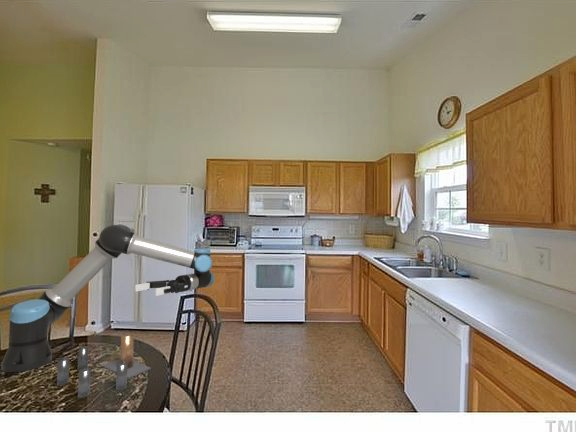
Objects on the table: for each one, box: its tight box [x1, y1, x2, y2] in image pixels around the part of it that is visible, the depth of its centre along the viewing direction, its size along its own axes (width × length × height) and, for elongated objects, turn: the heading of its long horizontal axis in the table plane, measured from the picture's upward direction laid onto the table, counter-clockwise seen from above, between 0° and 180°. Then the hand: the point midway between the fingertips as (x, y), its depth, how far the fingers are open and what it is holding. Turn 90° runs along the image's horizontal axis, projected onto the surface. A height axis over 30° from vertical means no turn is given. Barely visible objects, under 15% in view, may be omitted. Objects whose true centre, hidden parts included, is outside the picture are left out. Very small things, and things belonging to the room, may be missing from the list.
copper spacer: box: [119, 332, 135, 369], centre depth 119 cm, size 4×4×12 cm
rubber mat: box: [101, 358, 152, 380], centre depth 119 cm, size 17×9×1 cm, turn 59°
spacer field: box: [56, 345, 128, 399], centre depth 107 cm, size 28×12×8 cm, turn 59°
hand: (145, 290), depth 128 cm, fingers open, 13 cm apart
